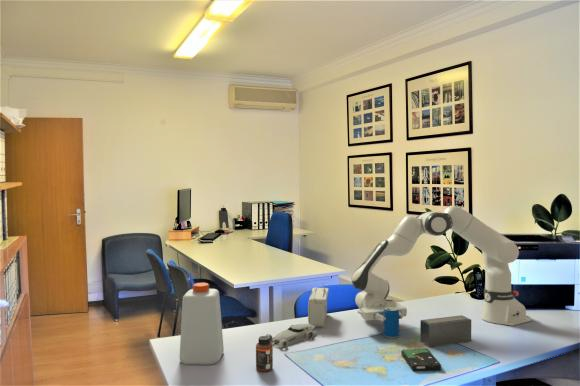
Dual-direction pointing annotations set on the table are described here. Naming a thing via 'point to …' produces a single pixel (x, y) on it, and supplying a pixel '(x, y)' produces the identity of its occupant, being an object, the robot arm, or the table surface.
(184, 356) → the plastic bottle
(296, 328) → the car model
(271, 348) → the supplement bottle
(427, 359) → the disk drive
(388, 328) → the beverage can
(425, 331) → the box
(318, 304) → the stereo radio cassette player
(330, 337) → the table surface
